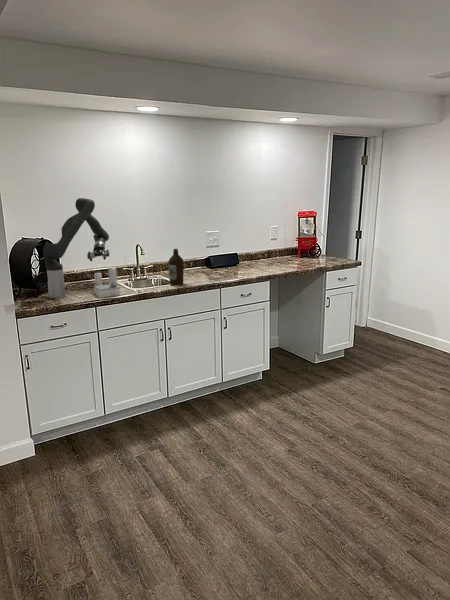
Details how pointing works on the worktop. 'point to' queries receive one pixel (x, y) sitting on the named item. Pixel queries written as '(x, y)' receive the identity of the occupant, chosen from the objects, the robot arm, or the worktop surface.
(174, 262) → the olive oil
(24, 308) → the worktop surface
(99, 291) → the scale
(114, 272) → the spacer on scale
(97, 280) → the spacer
